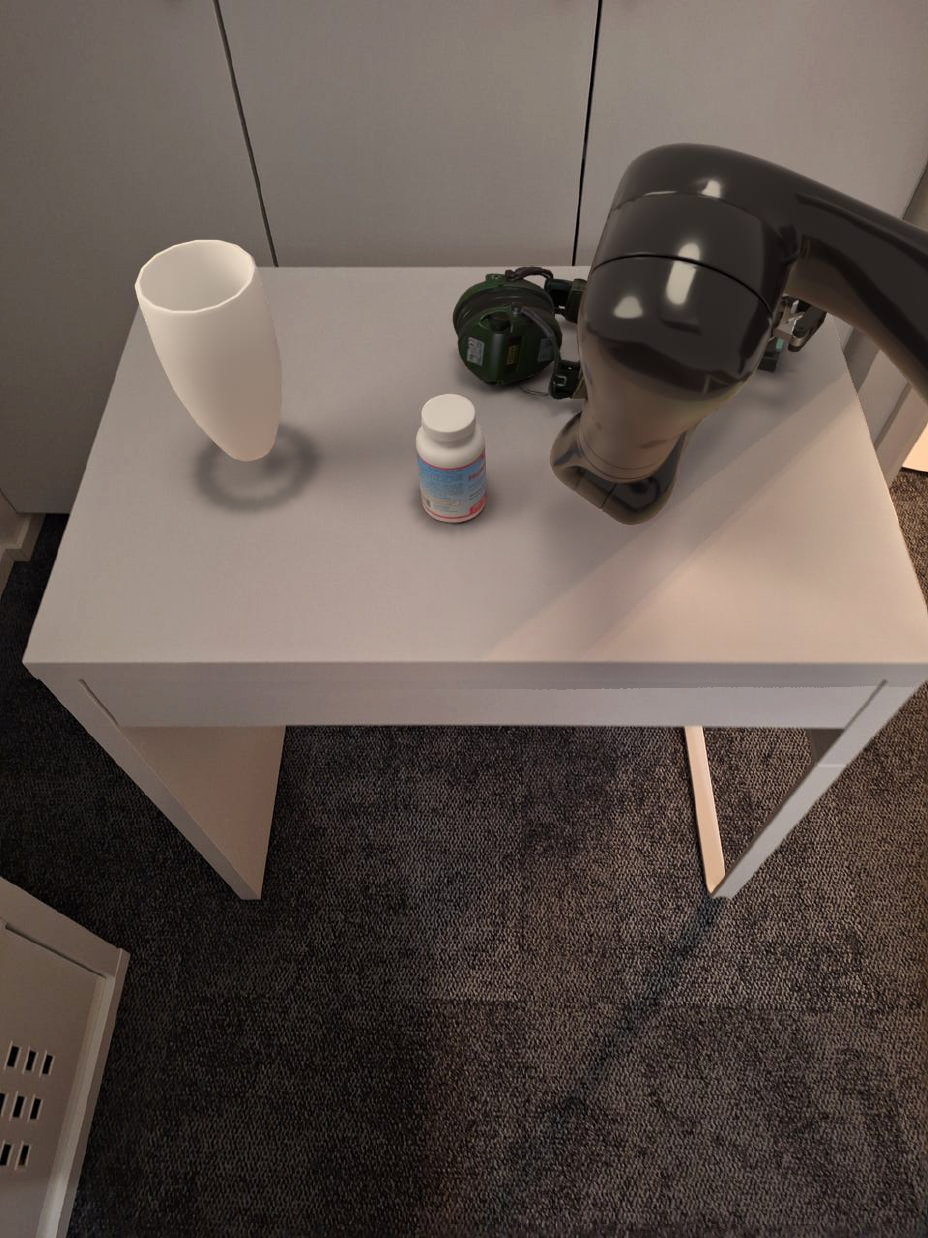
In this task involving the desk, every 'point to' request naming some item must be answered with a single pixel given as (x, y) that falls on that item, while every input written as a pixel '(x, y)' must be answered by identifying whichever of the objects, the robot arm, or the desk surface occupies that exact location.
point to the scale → (771, 355)
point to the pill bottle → (451, 459)
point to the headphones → (519, 330)
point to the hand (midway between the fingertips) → (778, 259)
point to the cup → (216, 341)
